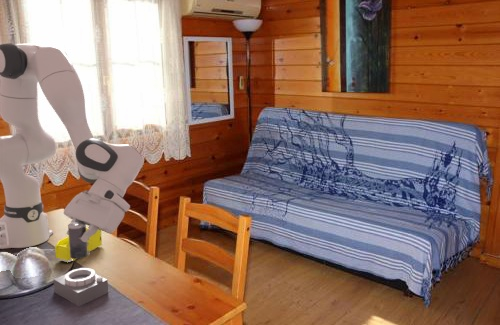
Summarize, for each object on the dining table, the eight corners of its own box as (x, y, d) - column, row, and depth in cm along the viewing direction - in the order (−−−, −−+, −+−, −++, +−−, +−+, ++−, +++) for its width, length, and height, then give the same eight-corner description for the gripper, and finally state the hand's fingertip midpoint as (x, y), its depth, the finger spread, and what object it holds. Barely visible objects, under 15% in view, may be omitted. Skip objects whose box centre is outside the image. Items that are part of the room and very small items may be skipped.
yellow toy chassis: (69, 265, 132) (67, 241, 130) (55, 262, 134) (53, 238, 132) (103, 247, 147) (101, 225, 145) (90, 244, 148) (88, 222, 147)
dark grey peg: (67, 255, 113) (64, 224, 111) (81, 250, 116) (79, 220, 115) (76, 260, 110) (73, 228, 109) (90, 254, 114) (88, 223, 112)
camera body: (54, 292, 116) (52, 274, 114) (83, 279, 123) (82, 262, 122) (79, 306, 109) (77, 287, 108) (108, 292, 116) (107, 274, 115)
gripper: (76, 183, 121) (46, 224, 116) (120, 196, 110) (89, 242, 104) (90, 194, 126) (62, 234, 120) (134, 208, 114) (105, 252, 108)
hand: (75, 238), depth 112 cm, fingers closed on dark grey peg, 4 cm apart
